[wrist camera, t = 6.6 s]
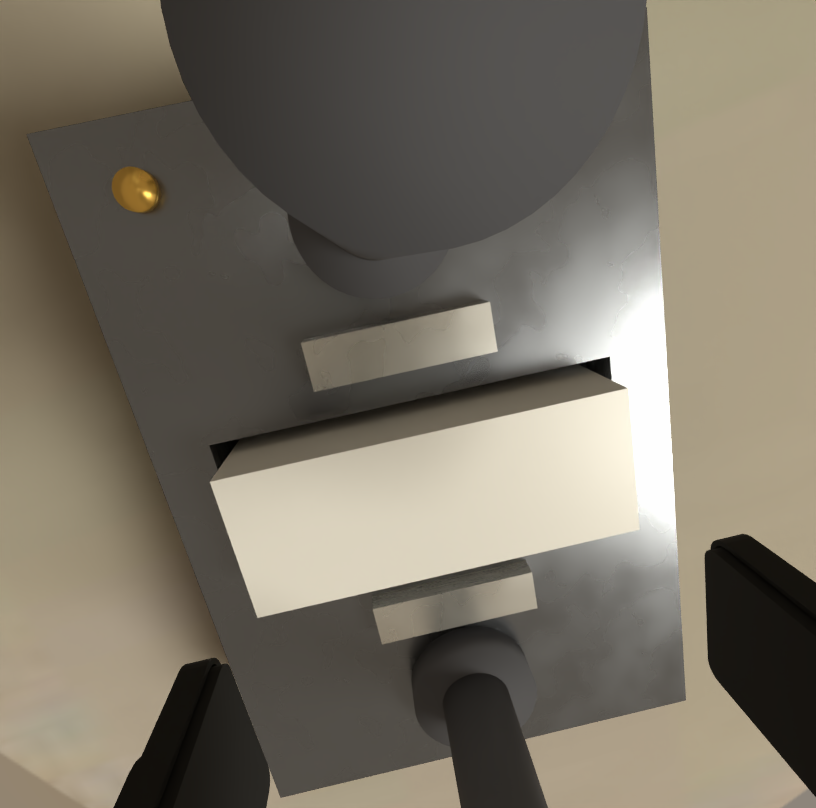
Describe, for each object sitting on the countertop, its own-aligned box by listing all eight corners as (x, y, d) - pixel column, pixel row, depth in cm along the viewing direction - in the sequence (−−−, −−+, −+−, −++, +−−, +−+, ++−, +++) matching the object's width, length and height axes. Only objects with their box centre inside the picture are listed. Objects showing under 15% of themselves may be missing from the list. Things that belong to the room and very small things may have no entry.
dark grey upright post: (273, 148, 15) (-323, -615, 2) (434, 114, 15) (872, -816, 2) (315, 310, 16) (127, 495, 3) (462, 279, 16) (828, 340, 3)
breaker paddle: (257, 413, 22) (209, 482, 15) (547, 349, 22) (628, 388, 15) (288, 514, 23) (257, 617, 16) (560, 453, 23) (639, 529, 17)
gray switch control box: (125, 171, 20) (6, 126, 13) (566, 80, 20) (662, -7, 14) (298, 684, 27) (277, 817, 21) (618, 608, 28) (697, 716, 21)
